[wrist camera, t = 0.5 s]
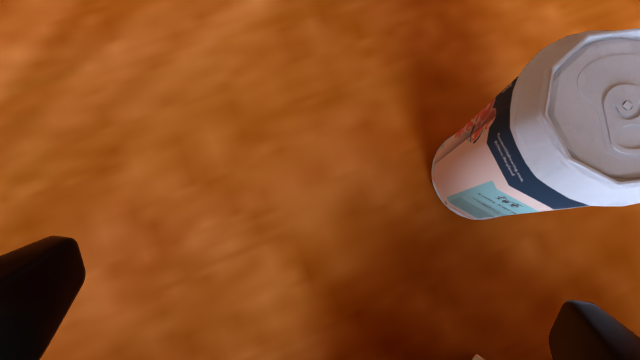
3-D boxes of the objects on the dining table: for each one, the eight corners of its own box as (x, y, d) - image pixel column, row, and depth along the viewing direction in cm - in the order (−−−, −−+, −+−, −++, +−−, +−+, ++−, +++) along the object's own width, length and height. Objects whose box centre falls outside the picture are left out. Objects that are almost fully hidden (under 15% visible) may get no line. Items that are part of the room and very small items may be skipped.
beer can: (513, 126, 22) (710, -1, 10) (528, 215, 21) (758, 192, 9) (423, 136, 22) (511, 25, 10) (435, 224, 21) (544, 214, 10)
